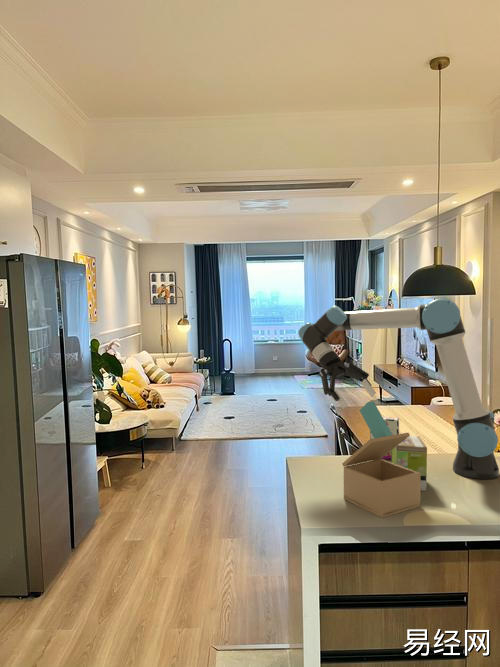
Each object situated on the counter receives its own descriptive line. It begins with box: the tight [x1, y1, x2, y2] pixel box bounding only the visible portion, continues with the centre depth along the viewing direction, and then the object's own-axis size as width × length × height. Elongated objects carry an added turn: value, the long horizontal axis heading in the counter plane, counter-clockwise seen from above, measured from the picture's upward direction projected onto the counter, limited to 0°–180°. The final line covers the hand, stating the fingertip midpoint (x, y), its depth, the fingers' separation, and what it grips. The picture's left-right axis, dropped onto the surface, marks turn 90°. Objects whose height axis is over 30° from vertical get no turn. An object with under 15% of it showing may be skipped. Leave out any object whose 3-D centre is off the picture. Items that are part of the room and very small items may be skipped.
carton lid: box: [341, 401, 411, 467], centre depth 142 cm, size 16×16×13 cm
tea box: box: [390, 435, 428, 492], centre depth 154 cm, size 15×10×15 cm, turn 168°
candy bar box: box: [369, 416, 400, 461], centre depth 182 cm, size 11×5×16 cm, turn 68°
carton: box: [343, 459, 421, 518], centre depth 137 cm, size 16×16×10 cm
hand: (360, 400), depth 159 cm, fingers open, 13 cm apart
